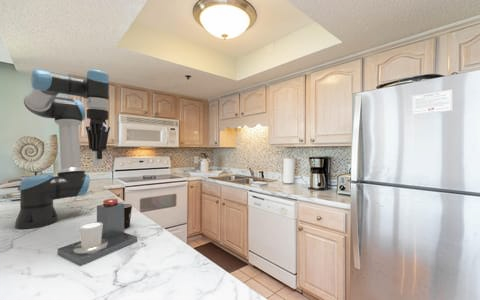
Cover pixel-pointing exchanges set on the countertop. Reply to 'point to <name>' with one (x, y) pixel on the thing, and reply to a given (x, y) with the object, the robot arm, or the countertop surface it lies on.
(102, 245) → the press
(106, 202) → the ram
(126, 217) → the coffee mug
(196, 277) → the countertop surface
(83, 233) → the white tapered cup
